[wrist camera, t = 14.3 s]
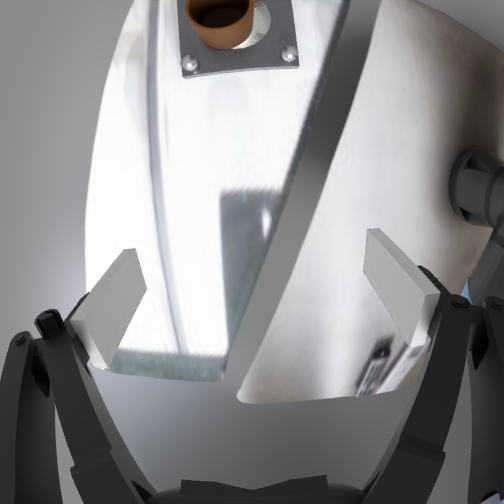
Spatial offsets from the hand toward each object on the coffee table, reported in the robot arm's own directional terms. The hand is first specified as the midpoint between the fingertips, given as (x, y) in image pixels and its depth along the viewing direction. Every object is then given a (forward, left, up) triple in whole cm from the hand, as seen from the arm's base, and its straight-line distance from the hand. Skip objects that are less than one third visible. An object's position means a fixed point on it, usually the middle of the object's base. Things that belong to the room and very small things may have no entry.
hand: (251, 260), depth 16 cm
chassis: (0, -23, -29) cm, 37 cm away
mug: (0, -23, -27) cm, 35 cm away
